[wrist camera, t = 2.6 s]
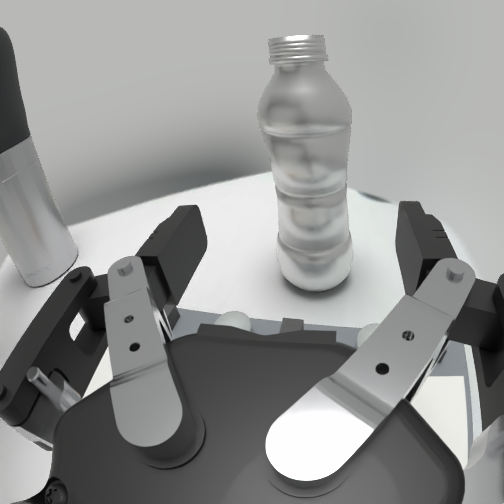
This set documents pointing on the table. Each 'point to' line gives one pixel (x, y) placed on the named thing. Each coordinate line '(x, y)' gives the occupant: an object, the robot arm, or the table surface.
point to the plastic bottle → (308, 162)
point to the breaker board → (428, 398)
